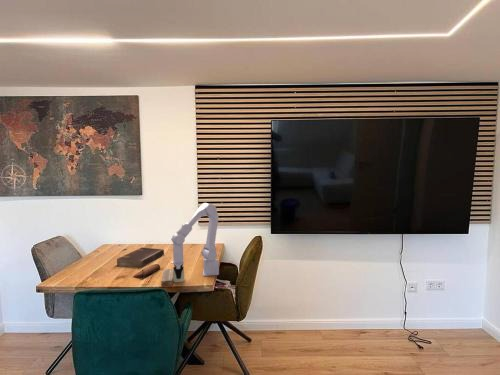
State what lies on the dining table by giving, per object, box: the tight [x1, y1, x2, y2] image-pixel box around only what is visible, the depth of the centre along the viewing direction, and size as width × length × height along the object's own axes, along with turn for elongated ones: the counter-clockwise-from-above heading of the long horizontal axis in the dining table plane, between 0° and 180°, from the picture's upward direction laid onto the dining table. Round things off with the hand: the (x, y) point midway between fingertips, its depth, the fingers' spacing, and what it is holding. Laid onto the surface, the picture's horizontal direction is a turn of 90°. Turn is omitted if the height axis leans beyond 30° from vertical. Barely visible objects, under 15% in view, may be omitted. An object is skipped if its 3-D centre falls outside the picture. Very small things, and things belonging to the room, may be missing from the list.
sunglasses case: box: [132, 263, 161, 280], centre depth 190 cm, size 18×7×7 cm
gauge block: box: [172, 265, 185, 283], centre depth 178 cm, size 6×5×7 cm
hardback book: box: [116, 247, 165, 269], centre depth 217 cm, size 29×19×5 cm, turn 166°
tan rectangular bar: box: [160, 268, 174, 287], centre depth 181 cm, size 6×20×3 cm, turn 12°
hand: (178, 276), depth 179 cm, fingers closed on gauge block, 5 cm apart
